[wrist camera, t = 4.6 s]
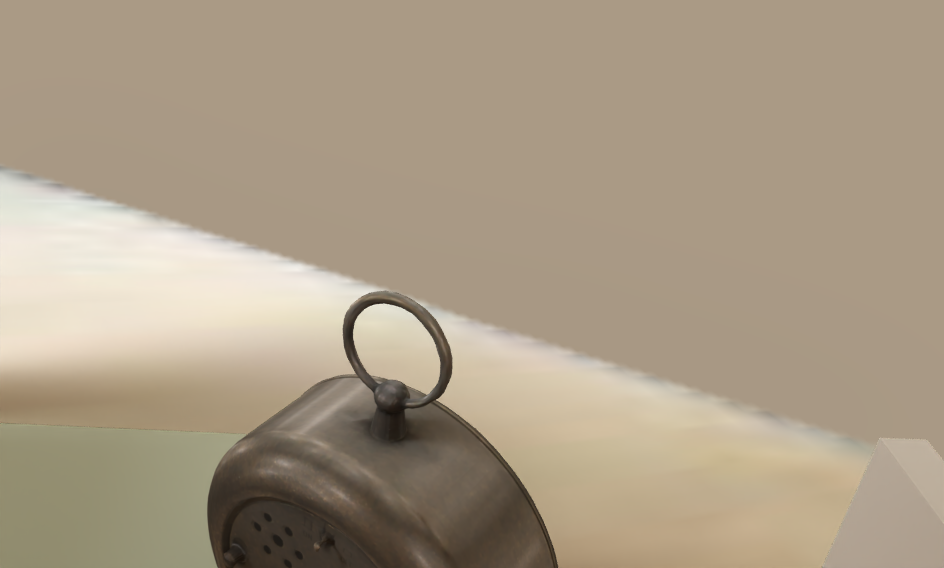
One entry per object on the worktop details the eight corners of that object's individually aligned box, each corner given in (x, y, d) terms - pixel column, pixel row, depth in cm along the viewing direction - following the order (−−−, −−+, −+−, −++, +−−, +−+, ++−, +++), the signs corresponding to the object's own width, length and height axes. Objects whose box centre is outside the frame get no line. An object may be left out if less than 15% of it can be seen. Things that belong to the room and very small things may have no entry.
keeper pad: (216, 611, 33) (216, 596, 33) (-204, 605, 31) (-210, 589, 31) (246, 447, 41) (246, 433, 40) (-90, 433, 39) (-93, 418, 38)
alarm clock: (528, 735, 31) (638, 340, 22) (436, 871, 26) (529, 447, 18) (289, 570, 35) (308, 192, 27) (179, 663, 31) (163, 251, 23)
